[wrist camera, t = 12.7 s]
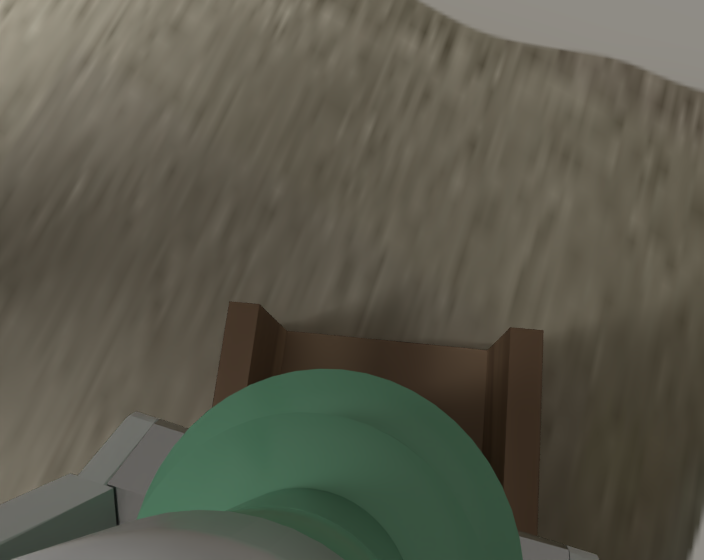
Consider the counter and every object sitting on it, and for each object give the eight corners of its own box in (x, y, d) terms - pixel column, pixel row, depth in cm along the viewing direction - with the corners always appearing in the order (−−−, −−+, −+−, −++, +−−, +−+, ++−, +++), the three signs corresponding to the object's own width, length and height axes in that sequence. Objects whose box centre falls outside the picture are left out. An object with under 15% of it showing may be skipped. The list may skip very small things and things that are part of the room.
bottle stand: (200, 616, 23) (133, 676, 17) (244, 330, 25) (199, 298, 20) (523, 663, 22) (569, 746, 16) (534, 358, 24) (576, 333, 18)
